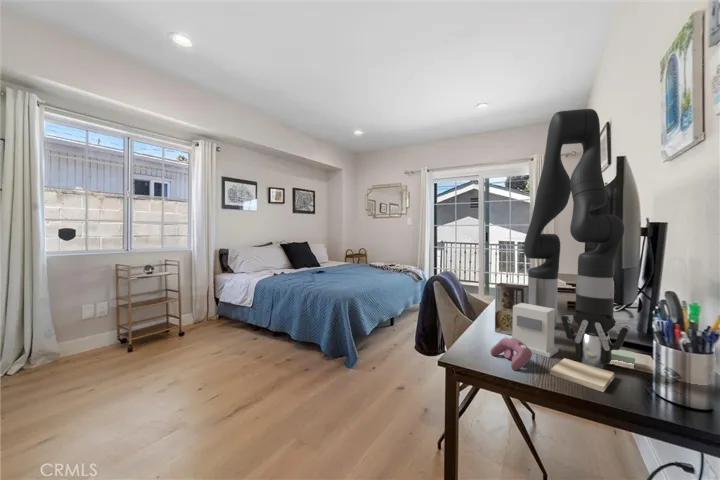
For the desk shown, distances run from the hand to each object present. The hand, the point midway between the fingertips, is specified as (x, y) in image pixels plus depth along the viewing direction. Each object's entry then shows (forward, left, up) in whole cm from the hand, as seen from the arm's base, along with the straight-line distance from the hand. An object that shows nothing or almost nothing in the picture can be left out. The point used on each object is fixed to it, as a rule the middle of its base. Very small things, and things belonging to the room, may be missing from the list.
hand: (592, 360), depth 75 cm
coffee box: (-9, -24, -2) cm, 26 cm away
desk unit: (0, -14, -1) cm, 14 cm away
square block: (-7, +4, -2) cm, 9 cm away
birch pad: (+9, 0, -1) cm, 9 cm away
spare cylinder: (0, 0, -1) cm, 1 cm away
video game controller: (+14, -14, -2) cm, 20 cm away
